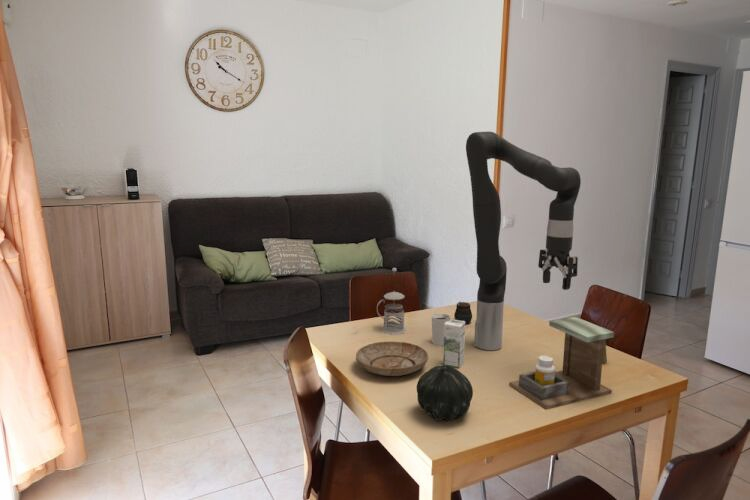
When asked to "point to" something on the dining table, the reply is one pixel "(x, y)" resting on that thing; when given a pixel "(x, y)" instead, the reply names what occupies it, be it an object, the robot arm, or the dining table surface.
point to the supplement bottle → (545, 371)
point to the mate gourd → (463, 312)
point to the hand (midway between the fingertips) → (555, 286)
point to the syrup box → (454, 343)
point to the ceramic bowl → (391, 358)
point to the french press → (393, 314)
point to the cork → (604, 353)
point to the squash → (444, 392)
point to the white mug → (438, 328)
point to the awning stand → (571, 367)
